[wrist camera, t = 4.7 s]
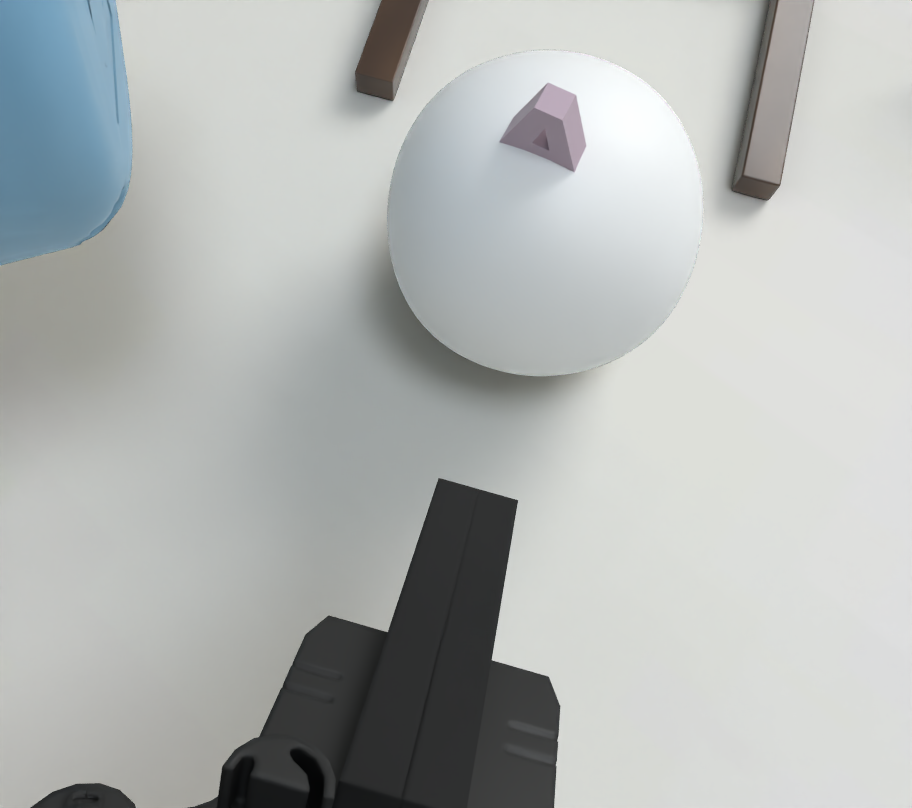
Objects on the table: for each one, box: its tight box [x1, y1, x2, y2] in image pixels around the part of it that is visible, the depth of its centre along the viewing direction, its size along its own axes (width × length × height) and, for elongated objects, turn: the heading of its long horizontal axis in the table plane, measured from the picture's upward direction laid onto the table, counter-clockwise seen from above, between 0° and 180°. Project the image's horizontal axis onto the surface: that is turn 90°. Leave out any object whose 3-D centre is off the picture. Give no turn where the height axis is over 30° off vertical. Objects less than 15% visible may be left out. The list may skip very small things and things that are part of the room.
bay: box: [355, 0, 814, 200], centre depth 36 cm, size 18×12×1 cm
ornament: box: [387, 50, 704, 376], centre depth 27 cm, size 10×10×12 cm
